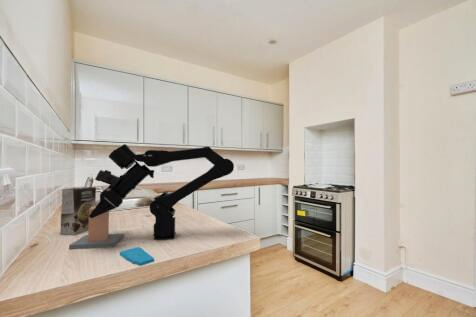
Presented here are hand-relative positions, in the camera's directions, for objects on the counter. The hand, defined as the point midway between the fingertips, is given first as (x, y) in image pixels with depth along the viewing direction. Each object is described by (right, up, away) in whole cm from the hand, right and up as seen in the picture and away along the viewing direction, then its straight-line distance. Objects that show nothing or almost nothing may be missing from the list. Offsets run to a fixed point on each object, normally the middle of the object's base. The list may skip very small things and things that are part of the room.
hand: (92, 214), depth 72 cm
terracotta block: (+2, -8, 0) cm, 8 cm away
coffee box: (-14, -10, +13) cm, 21 cm away
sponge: (+19, -9, -11) cm, 24 cm away
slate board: (+2, -9, 0) cm, 9 cm away
